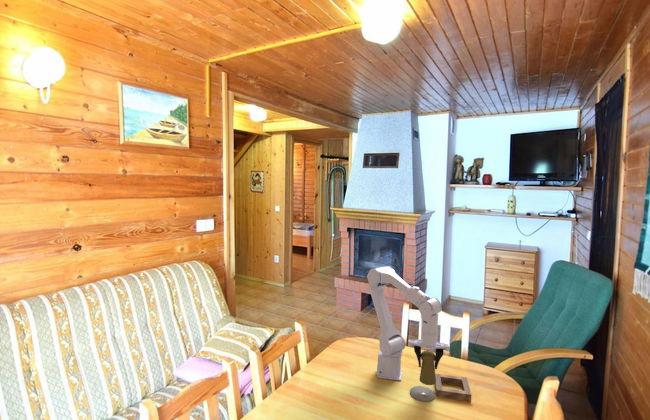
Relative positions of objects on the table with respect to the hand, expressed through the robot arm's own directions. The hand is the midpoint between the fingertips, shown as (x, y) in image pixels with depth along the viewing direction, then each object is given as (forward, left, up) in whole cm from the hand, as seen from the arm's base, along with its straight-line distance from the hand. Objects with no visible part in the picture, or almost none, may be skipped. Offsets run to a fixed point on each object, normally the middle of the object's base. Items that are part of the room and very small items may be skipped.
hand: (427, 366), depth 134 cm
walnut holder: (+10, +5, -10) cm, 15 cm away
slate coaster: (-1, -1, -10) cm, 10 cm away
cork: (0, 0, -6) cm, 6 cm away
